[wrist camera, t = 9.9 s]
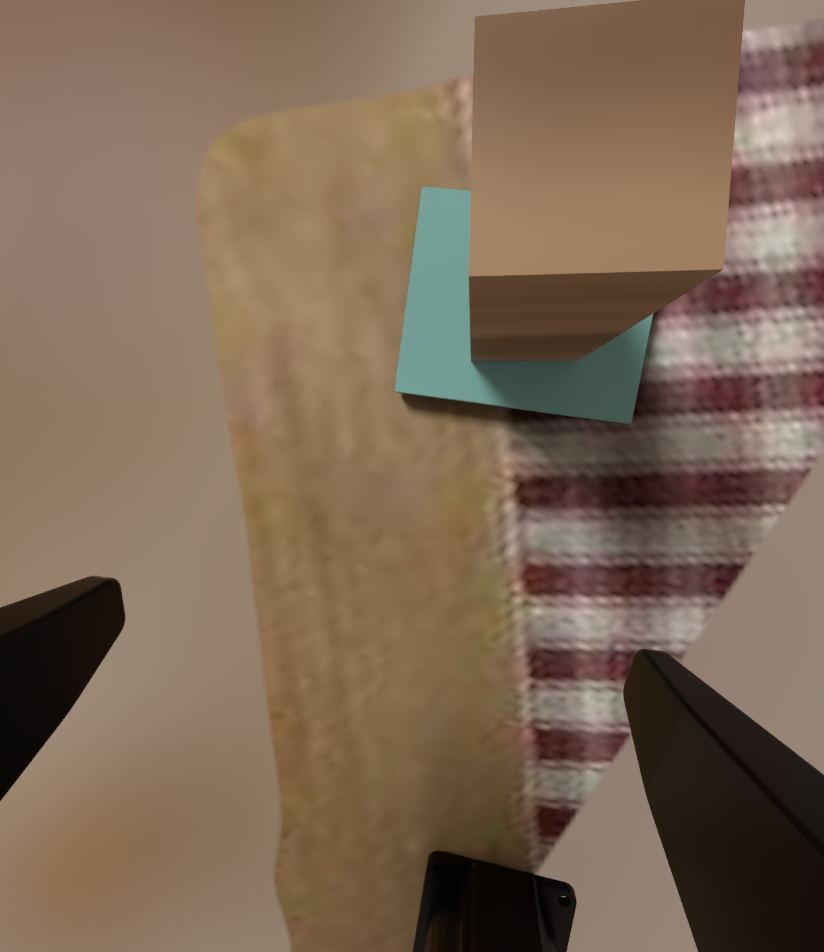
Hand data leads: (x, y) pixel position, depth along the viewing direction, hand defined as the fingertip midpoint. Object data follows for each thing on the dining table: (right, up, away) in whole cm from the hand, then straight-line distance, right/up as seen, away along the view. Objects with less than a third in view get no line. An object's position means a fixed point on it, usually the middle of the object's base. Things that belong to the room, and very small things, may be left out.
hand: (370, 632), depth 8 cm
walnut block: (+5, +9, +9) cm, 14 cm away
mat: (+5, +9, +10) cm, 14 cm away
